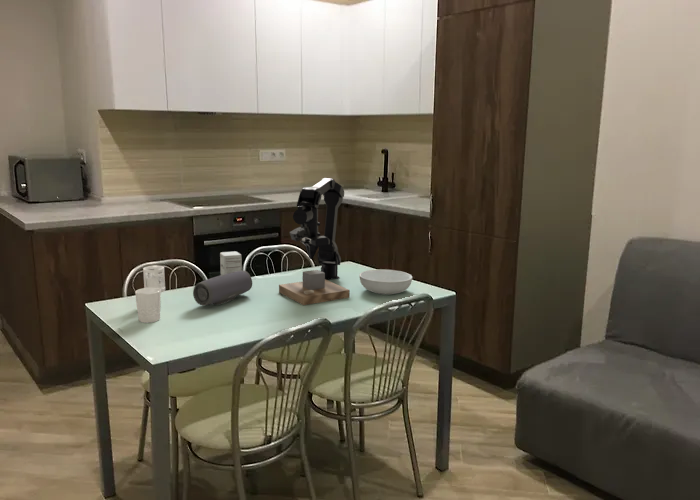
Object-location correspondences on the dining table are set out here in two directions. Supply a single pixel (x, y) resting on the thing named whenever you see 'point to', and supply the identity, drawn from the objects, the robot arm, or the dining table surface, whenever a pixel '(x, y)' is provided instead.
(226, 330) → the dining table surface
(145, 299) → the white cup
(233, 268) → the supplement box
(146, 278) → the white tall cylindrical part
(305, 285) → the grey rectangular block
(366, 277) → the serving bowl
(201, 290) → the bluetooth speaker
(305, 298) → the brown wooden flat slab
